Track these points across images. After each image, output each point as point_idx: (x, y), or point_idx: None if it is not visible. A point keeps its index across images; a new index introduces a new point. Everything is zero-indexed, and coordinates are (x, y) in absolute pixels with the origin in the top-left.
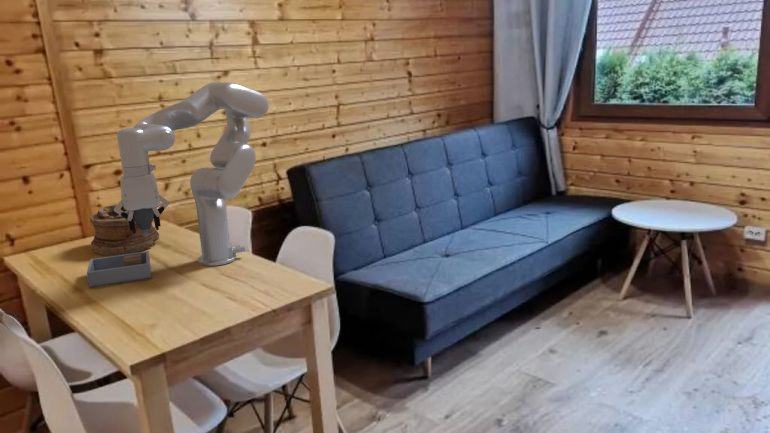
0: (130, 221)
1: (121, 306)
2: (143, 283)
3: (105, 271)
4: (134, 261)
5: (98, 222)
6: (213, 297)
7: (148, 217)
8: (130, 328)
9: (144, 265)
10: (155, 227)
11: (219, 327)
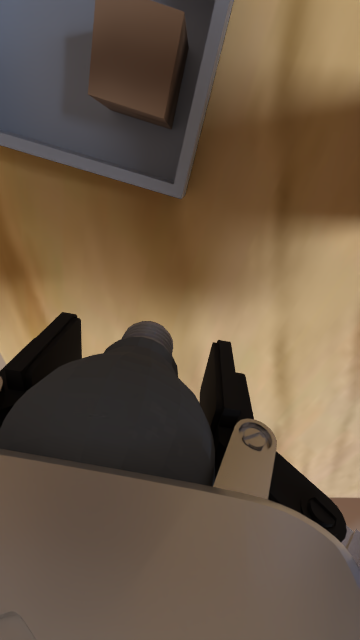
0: None
1: (81, 341)
2: (154, 221)
3: (18, 150)
4: (136, 110)
5: None
6: (254, 416)
7: None
8: None
9: (164, 193)
10: (207, 366)
11: None
